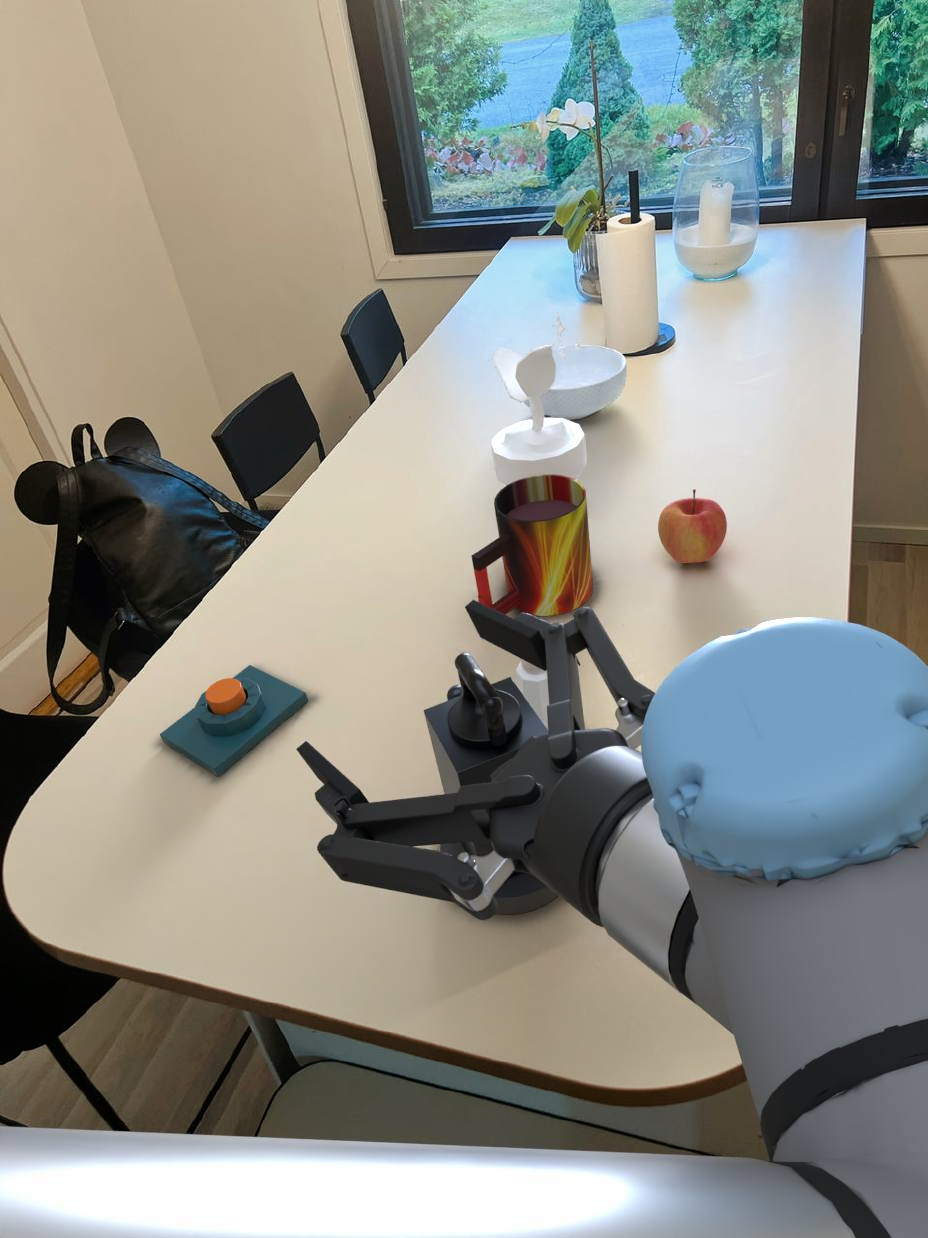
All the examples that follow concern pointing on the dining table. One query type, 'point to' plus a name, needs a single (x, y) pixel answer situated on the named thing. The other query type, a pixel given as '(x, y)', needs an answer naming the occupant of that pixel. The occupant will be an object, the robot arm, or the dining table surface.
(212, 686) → the power button
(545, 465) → the potted plant
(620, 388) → the cereal bowl
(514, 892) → the kettle base
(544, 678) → the salt shaker
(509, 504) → the mug
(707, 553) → the apple
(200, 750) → the switch block
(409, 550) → the dining table surface
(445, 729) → the kettle
